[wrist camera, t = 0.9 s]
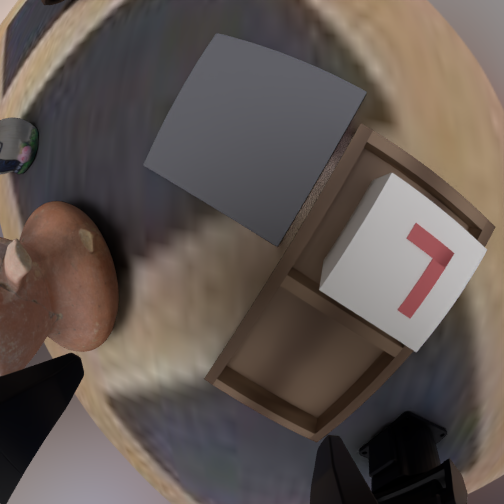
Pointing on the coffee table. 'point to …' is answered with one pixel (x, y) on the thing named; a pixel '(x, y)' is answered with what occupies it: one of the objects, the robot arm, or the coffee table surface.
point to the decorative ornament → (17, 145)
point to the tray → (326, 306)
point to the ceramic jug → (55, 286)
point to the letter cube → (400, 261)
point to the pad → (253, 133)
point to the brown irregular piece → (51, 2)
